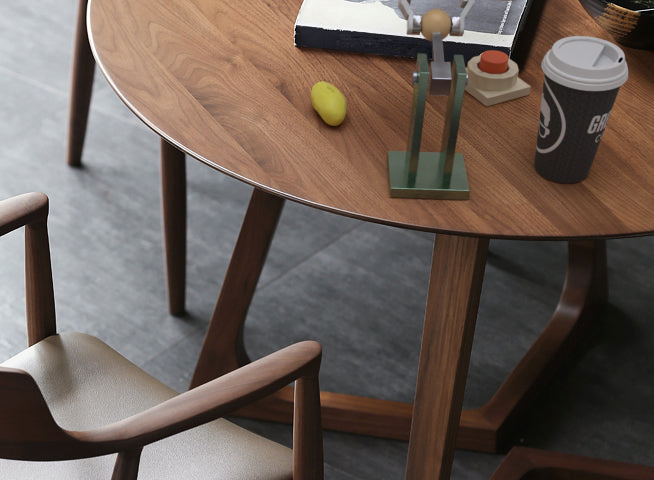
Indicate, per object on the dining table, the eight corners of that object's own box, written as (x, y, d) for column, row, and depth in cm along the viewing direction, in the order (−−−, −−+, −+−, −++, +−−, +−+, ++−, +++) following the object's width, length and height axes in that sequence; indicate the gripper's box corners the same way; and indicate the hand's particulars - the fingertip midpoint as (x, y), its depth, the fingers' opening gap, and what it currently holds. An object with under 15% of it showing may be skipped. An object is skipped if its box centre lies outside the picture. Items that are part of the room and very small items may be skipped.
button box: (529, 94, 142) (533, 73, 140) (486, 106, 139) (489, 85, 137) (493, 68, 147) (496, 47, 145) (450, 79, 144) (453, 58, 142)
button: (512, 72, 141) (514, 59, 140) (489, 77, 140) (491, 65, 138) (495, 60, 143) (497, 48, 142) (473, 65, 142) (475, 53, 141)
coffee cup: (568, 200, 124) (597, 82, 114) (504, 165, 129) (526, 49, 119) (618, 171, 129) (650, 55, 118) (554, 138, 134) (580, 24, 124)
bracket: (386, 159, 129) (398, 44, 119) (461, 162, 129) (479, 47, 119) (389, 197, 124) (402, 80, 114) (468, 200, 124) (487, 83, 114)
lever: (417, 27, 125) (421, 1, 122) (448, 28, 125) (452, 2, 122) (422, 99, 118) (426, 73, 115) (454, 100, 118) (459, 74, 115)
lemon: (319, 133, 134) (320, 104, 131) (305, 100, 139) (306, 73, 137) (352, 130, 134) (354, 102, 132) (337, 98, 140) (338, 70, 137)
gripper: (349, -102, 120) (346, 21, 120) (532, -96, 120) (529, 27, 120) (346, -76, 126) (342, 40, 126) (520, -71, 126) (517, 46, 126)
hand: (435, 34), depth 123 cm, fingers closed on lever, 3 cm apart
